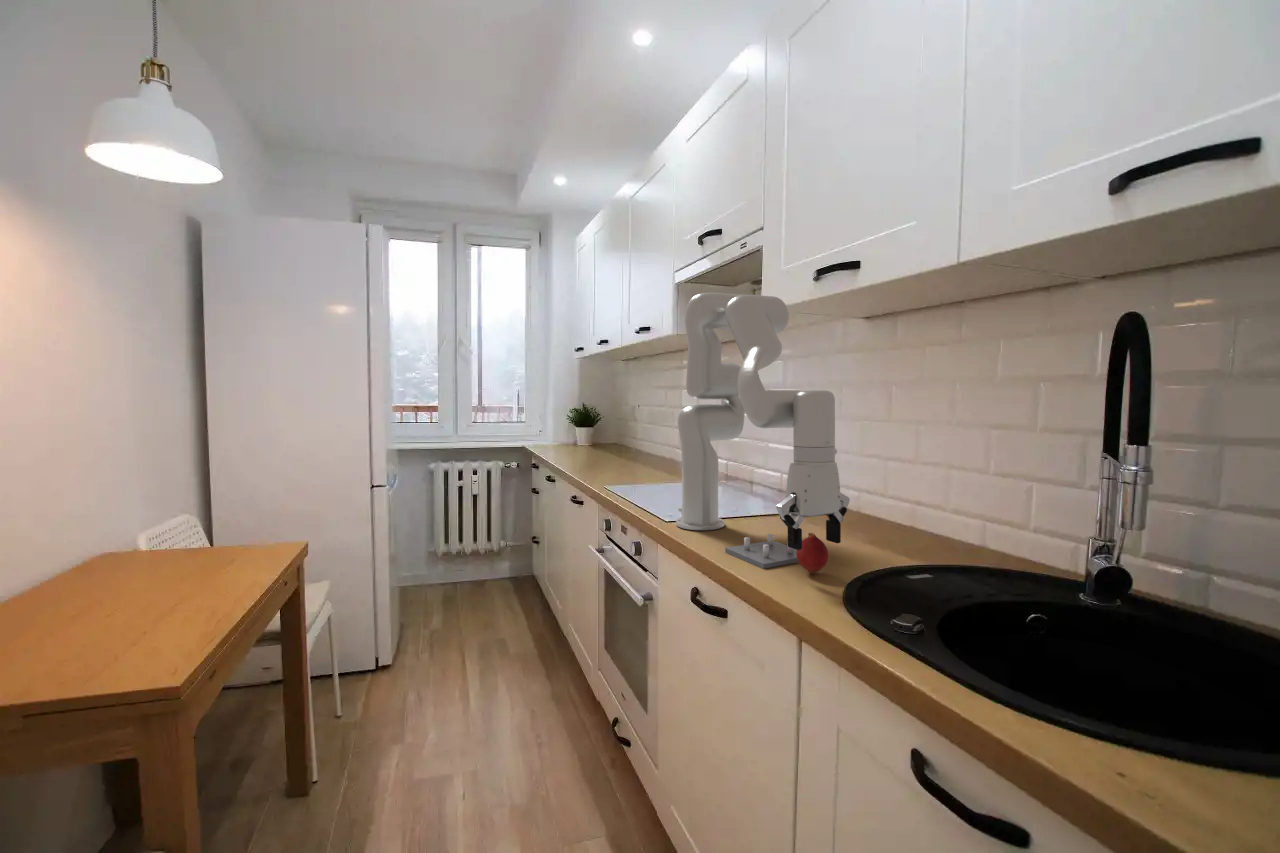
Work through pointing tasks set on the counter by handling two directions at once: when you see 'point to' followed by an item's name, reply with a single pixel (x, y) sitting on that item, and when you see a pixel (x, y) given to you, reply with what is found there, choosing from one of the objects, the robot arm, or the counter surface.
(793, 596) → the counter surface
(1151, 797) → the counter surface
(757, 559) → the pin tray
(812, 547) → the onion
